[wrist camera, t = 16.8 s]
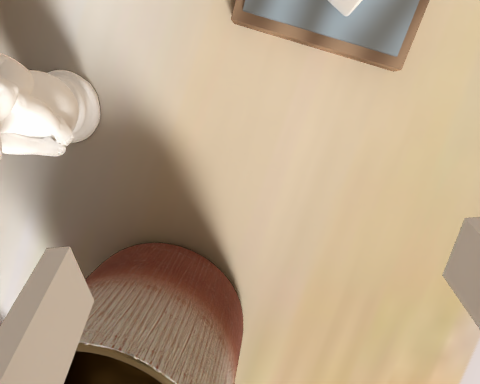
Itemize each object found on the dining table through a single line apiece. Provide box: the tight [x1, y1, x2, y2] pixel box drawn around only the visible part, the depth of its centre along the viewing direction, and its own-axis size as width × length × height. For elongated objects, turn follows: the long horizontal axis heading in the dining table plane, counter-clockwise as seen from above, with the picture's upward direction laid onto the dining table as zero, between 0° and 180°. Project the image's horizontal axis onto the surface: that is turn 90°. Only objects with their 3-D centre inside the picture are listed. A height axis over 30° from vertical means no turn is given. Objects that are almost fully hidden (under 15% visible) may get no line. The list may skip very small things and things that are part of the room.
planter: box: [64, 243, 243, 384], centre depth 39 cm, size 22×22×20 cm
